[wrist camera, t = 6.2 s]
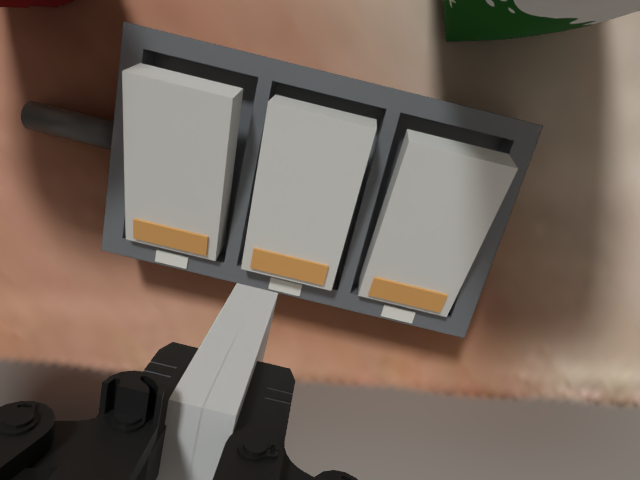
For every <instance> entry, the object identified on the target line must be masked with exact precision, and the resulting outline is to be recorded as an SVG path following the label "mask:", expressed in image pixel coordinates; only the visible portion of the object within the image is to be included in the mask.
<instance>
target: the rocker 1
mask: <svg viewBox="0 0 640 480" xmlns="http://www.w3.org/2000/svg"><path fill="white" fill-rule="evenodd" d="M122 93H123V139H124V184H125V229H126V239H127V240H131V241H135V242H139V243H143V244H147V245H151V246H155V247H160V248H164V249H168V250H172V251H176V252H180V253H184V254H188V255H192V256H197V257H201V258H205V259H209V260H213V261H216V259H217V257H218V255H219V254H220V252H221V250H222V248H223V246H224V245H225V240H226V231H227V223H228V214H229V206H230V197H231V189H232V180H233V172H234V163H235V155H236V146H237V138H238V130H239V121H240V113H241V104H242V96H243V88H240V87H236V86H232V85H227V84H223V83H219V82H215V81H211V80H207V79H203V78H199V77H195V76H191V75H187V74H183V73H179V72H175V71H171V70H167V69H163V68H159V67H155V66H151V65H147V64H142V63H139V64H137V65H135V66H132V67H130V68H128V69H125V70H123V71H122Z"/></svg>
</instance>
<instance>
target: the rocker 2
mask: <svg viewBox="0 0 640 480" xmlns="http://www.w3.org/2000/svg"><path fill="white" fill-rule="evenodd" d="M376 130H377V119H373V118H369V117H365V116H361V115H357V114H352V113H348V112H344V111H340V110H336V109H332V108H328V107H324V106H320V105H316V104H312V103H308V102H304V101H300V100H296V99H292V98H288V97H284V96H280V95H275V96H273V97H272V98H271V99H270V100H269V101H268V105H267V111H266V117H265V124H264V130H263V136H262V142H261V148H260V154H259V160H258V167H257V173H256V179H255V185H254V191H253V197H252V204H251V210H250V216H249V222H248V228H247V234H246V241H245V247H244V253H243V259H242V265H241V269H243V270H247V271H251V272H256V273H260V274H264V275H268V276H272V277H276V278H280V279H284V280H289V281H293V282H297V283H301V284H305V285H309V286H313V287H317V288H322V289H326V290H330V291H331V290H332V287H333V283H334V280H335V276H336V273H337V269H338V265H339V262H340V258H341V255H342V251H343V248H344V244H345V240H346V237H347V233H348V230H349V226H350V223H351V219H352V215H353V212H354V208H355V205H356V201H357V198H358V194H359V190H360V187H361V183H362V180H363V176H364V173H365V169H366V165H367V162H368V158H369V155H370V151H371V148H372V144H373V140H374V137H375V133H376Z"/></svg>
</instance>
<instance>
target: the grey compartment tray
mask: <svg viewBox="0 0 640 480" xmlns="http://www.w3.org/2000/svg"><path fill="white" fill-rule="evenodd" d="M139 63H142V64H147V65H151V66H155V67H159V68H163V69H167V70H171V71H175V72H179V73H183V74H187V75H191V76H195V77H199V78H203V79H207V80H211V81H215V82H219V83H223V84H227V85H232V86H236V87H240V88H243V96H242V104H241V113H240V121H239V130H238V138H237V146H236V155H235V163H234V172H233V180H232V189H231V197H230V206H229V214H228V223H227V231H226V240H225V245H224V246H223V248H222V250H221V252H220V254H219V255H218V257H217V259H216V261H213V260H209V259H205V258H201V257H197V256H192V255H188V254H184V253H180V252H176V251H172V250H168V249H164V248H160V247H155V246H151V245H147V244H143V243H139V242H135V241H131V240H127V239H126V229H125V184H124V139H123V93H122V71H123V70H125V69H128V68H130V67H132V66H135V65H137V64H139ZM275 95H280V96H284V97H288V98H292V99H296V100H300V101H304V102H308V103H312V104H316V105H320V106H324V107H328V108H332V109H336V110H340V111H344V112H348V113H352V114H357V115H361V116H365V117H369V118H373V119H377V130H376V133H375V137H374V140H373V144H372V148H371V151H370V155H369V158H368V162H367V165H366V169H365V173H364V176H363V180H362V183H361V187H360V190H359V194H358V198H357V201H356V205H355V208H354V212H353V215H352V219H351V223H350V226H349V230H348V233H347V237H346V240H345V244H344V248H343V251H342V255H341V258H340V262H339V265H338V269H337V273H336V276H335V280H334V283H333V287H332V290H331V291H330V290H326V289H322V288H317V287H313V286H309V285H305V284H301V283H297V282H293V281H289V280H284V279H280V278H276V277H272V276H268V275H264V274H260V273H256V272H251V271H247V270H243V269H241V265H242V259H243V253H244V247H245V241H246V234H247V228H248V222H249V216H250V210H251V204H252V197H253V191H254V185H255V179H256V173H257V167H258V160H259V154H260V148H261V142H262V136H263V130H264V124H265V117H266V111H267V105H268V101H269V100H270V99H271V98H272V97H273V96H275ZM21 120H22V124H23V126H24V127H25V128H27V129H30V130H34V131H38V132H42V133H46V134H50V135H54V136H59V137H63V138H67V139H71V140H75V141H79V142H83V143H87V144H91V145H95V146H99V147H103V148H108V149H111V155H110V165H109V176H108V186H107V196H106V207H105V217H104V227H103V238H102V248H101V250H103V251H107V252H111V253H115V254H119V255H123V256H127V257H131V258H136V259H140V260H144V261H148V262H152V263H156V264H160V265H164V266H169V267H173V268H177V269H181V270H185V271H189V272H193V273H198V274H202V275H206V276H210V277H214V278H218V279H222V280H226V281H231V282H235V283H239V284H243V285H247V286H251V287H255V288H260V289H264V290H268V291H272V292H276V293H280V294H284V295H288V296H292V297H297V298H301V299H305V300H309V301H313V302H317V303H321V304H326V305H330V306H334V307H338V308H342V309H346V310H350V311H354V312H359V313H363V314H367V315H371V316H375V317H379V318H383V319H387V320H392V321H396V322H400V323H404V324H408V325H412V326H416V327H420V328H425V329H429V330H433V331H437V332H441V333H445V334H449V335H454V336H458V337H462V338H464V337H465V334H466V332H467V329H468V326H469V324H470V321H471V318H472V315H473V313H474V310H475V307H476V305H477V302H478V299H479V297H480V294H481V291H482V289H483V286H484V283H485V281H486V278H487V275H488V273H489V270H490V267H491V264H492V262H493V259H494V256H495V254H496V251H497V248H498V246H499V243H500V240H501V238H502V235H503V232H504V230H505V227H506V224H507V221H508V219H509V216H510V213H511V211H512V208H513V205H514V203H515V200H516V197H517V195H518V192H519V189H520V187H521V184H522V181H523V178H524V176H525V173H526V170H527V168H528V165H529V162H530V160H531V157H532V154H533V152H534V149H535V146H536V144H537V141H538V138H539V135H540V133H541V130H542V127H543V126H542V125H538V124H534V123H530V122H526V121H522V120H518V119H514V118H510V117H506V116H502V115H498V114H494V113H490V112H486V111H482V110H478V109H474V108H470V107H466V106H462V105H458V104H454V103H450V102H446V101H442V100H438V99H434V98H430V97H425V96H421V95H417V94H413V93H409V92H405V91H401V90H397V89H393V88H389V87H385V86H381V85H377V84H373V83H369V82H365V81H361V80H357V79H353V78H349V77H345V76H341V75H337V74H333V73H329V72H325V71H321V70H317V69H313V68H309V67H305V66H301V65H296V64H292V63H288V62H284V61H280V60H276V59H272V58H268V57H264V56H260V55H256V54H252V53H248V52H244V51H240V50H236V49H232V48H228V47H224V46H220V45H216V44H212V43H208V42H204V41H200V40H196V39H192V38H188V37H184V36H180V35H176V34H172V33H167V32H163V31H159V30H155V29H151V28H147V27H143V26H139V25H135V24H131V23H127V22H123V31H122V42H121V52H120V62H119V73H118V83H117V93H116V104H115V114H114V121H111V120H107V119H103V118H99V117H95V116H91V115H87V114H83V113H79V112H75V111H71V110H66V109H62V108H58V107H54V106H50V105H46V104H42V103H38V102H34V101H29V102H27V103H26V104H25V105H24V107H23V109H22V112H21ZM407 129H410V130H414V131H418V132H422V133H426V134H430V135H434V136H438V137H442V138H446V139H450V140H454V141H458V142H462V143H466V144H470V145H474V146H478V147H482V148H486V149H491V150H495V151H499V152H503V153H507V154H509V155H510V157H511V158H512V160H513V161H514V163H515V165H516V166H517V168H518V170H517V172H516V174H515V176H514V178H513V180H512V183H511V185H510V187H509V189H508V191H507V193H506V195H505V197H504V199H503V201H502V203H501V205H500V207H499V209H498V212H497V214H496V216H495V218H494V220H493V222H492V224H491V226H490V228H489V230H488V232H487V234H486V236H485V239H484V241H483V243H482V245H481V247H480V249H479V251H478V253H477V255H476V257H475V259H474V261H473V263H472V266H471V268H470V270H469V272H468V274H467V276H466V278H465V280H464V282H463V284H462V286H461V288H460V290H459V293H458V295H457V297H456V299H455V301H454V303H453V305H452V307H451V309H450V311H449V313H448V315H447V317H444V316H440V315H436V314H432V313H427V312H423V311H419V310H415V309H411V308H407V307H403V306H399V305H394V304H390V303H386V302H382V301H378V300H374V299H370V298H366V297H361V296H358V289H359V276H360V273H361V270H362V267H363V264H364V261H365V258H366V255H367V252H368V248H369V245H370V242H371V239H372V236H373V233H374V230H375V227H376V224H377V221H378V217H379V214H380V211H381V208H382V205H383V202H384V199H385V196H386V193H387V190H388V187H389V183H390V180H391V177H392V174H393V171H394V168H395V165H396V162H397V159H398V156H399V153H400V149H401V146H402V143H403V140H404V137H405V134H406V131H407Z"/></svg>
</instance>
